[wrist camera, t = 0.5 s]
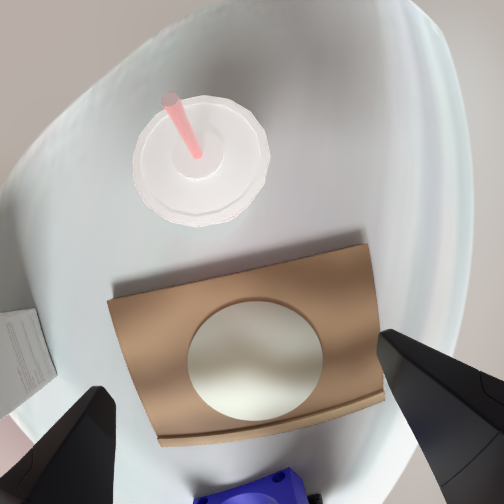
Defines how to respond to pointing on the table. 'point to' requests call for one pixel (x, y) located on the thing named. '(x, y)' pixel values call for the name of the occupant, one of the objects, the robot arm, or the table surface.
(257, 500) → the cable clip
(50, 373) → the supplement box
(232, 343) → the board
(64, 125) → the table surface
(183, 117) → the beverage cup
